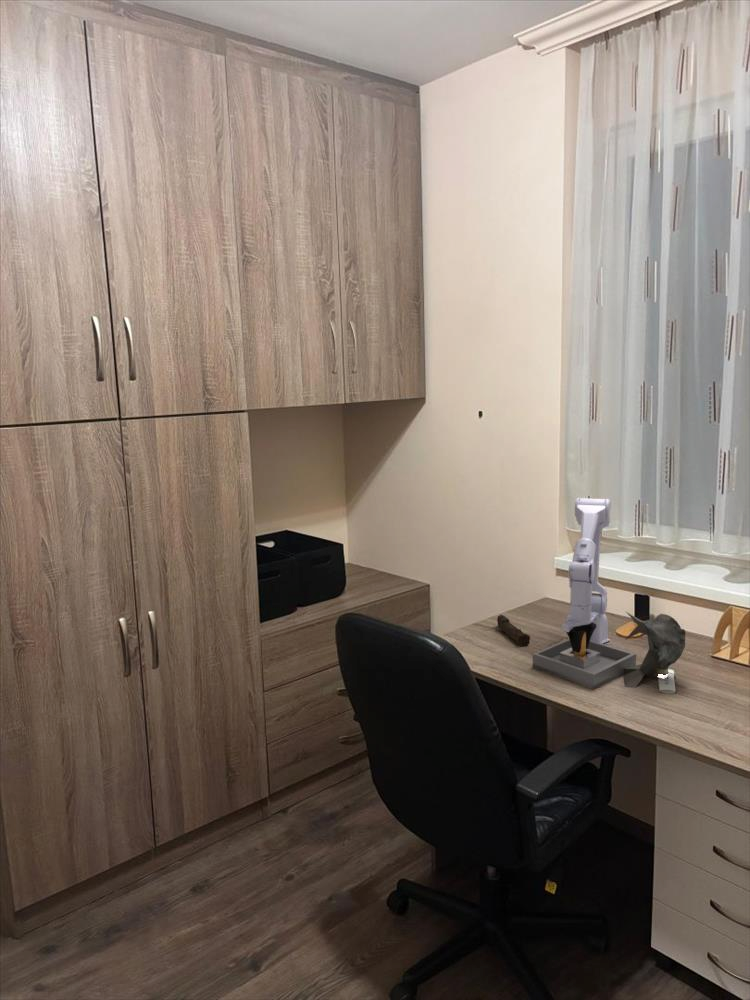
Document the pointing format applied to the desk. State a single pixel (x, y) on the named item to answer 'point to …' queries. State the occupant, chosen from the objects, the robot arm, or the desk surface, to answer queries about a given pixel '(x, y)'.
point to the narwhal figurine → (656, 648)
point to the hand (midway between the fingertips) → (580, 649)
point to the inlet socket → (580, 658)
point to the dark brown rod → (512, 631)
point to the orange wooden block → (582, 647)
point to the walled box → (592, 675)
